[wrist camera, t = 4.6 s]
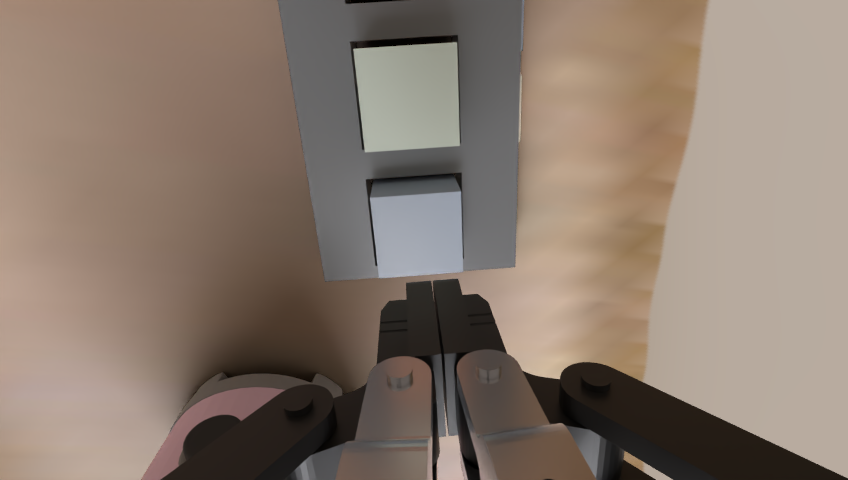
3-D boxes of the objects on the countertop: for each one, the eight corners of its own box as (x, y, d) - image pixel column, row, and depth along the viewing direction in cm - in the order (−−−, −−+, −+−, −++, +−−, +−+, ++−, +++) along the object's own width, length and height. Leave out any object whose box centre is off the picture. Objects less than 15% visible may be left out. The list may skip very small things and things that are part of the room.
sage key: (359, 48, 20) (353, 48, 17) (449, 42, 20) (457, 42, 17) (369, 138, 21) (365, 152, 19) (451, 133, 22) (459, 145, 19)
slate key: (373, 179, 22) (369, 197, 19) (453, 173, 22) (461, 191, 20) (381, 251, 24) (379, 278, 21) (455, 246, 24) (463, 271, 21)
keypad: (237, -340, 16) (210, -405, 14) (519, -352, 16) (539, -418, 14) (331, 260, 26) (324, 281, 23) (508, 247, 26) (519, 266, 24)
